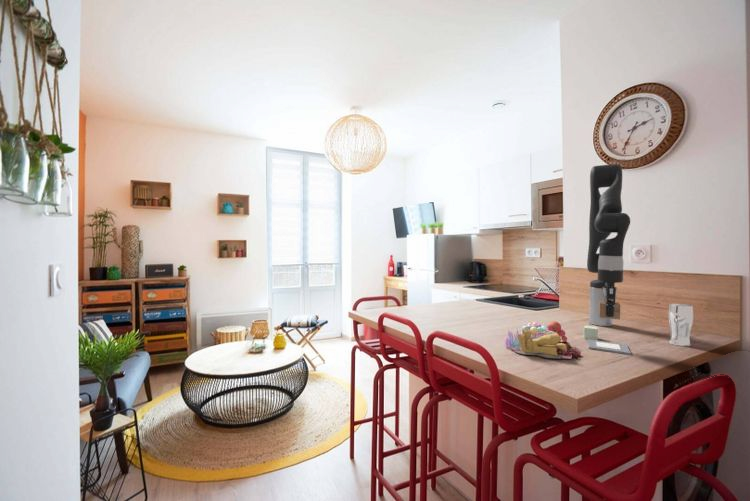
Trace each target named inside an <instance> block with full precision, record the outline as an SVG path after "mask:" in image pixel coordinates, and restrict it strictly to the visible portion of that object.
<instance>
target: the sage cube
mask: <svg viewBox="0 0 750 501" xmlns="http://www.w3.org/2000/svg"><path fill="white" fill-rule="evenodd" d="M598 338H599V328H598V326H595V325H594V326H593V325H583V339H584V340H588V339H590V340H597V341H599V339H598Z"/></svg>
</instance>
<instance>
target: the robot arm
mask: <svg viewBox="0 0 750 501" xmlns="http://www.w3.org/2000/svg"><path fill="white" fill-rule="evenodd" d="M589 187H590V188H589V190H590V191H589V192H590V207H589V208H590V209H589V218H588V219H589V221H588V222H589V223H588V224H589V226H588V227H589V228H588V230H589V231H588V232H589V233H588V235H589V236H588V240H589V241H588V250H587V258H586V259H587V262H586V267H587V270H588V273H589V272H590V273H596V274H597V279H593V280H591V281H590V284H589V308H588V309H589V312H588V313H589V315H588V323H589V324H591V325H592V326H593V325H594V326H600V327H613V322H614V321H613V320H614V319H611V318H601V317H599V301H603V302H606V316H607V317H613V316H614V305H615V304H616V303H617V302H616V300H617V292H618V287H616V286H615V283H619V284H620V283H623V282H624V257H623V256H624V242H625V238H626V235H627V232H628V230H629V228H630V225H631V217H630V216H629V214H627V213H625V212H623V211H622V210H623V205H622V189H623V168H622V166H621V165H620V164H618V163H617V164H616V163H615V164H613V163H612V164H603V165H593V166H592V168H590V175H589ZM601 188H607V189H606V190H604V192H602V194H601V193H600V190H599V189H601ZM614 233H616V236H614V237H612V238H608V237H610V235H611V234H614ZM598 249H599V253H597V251H598Z"/></svg>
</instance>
